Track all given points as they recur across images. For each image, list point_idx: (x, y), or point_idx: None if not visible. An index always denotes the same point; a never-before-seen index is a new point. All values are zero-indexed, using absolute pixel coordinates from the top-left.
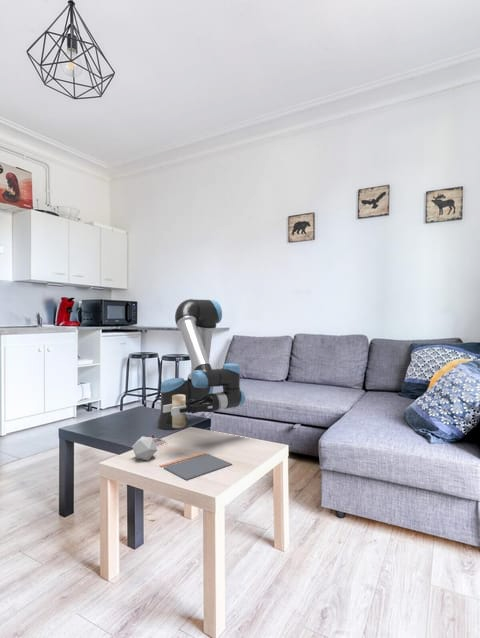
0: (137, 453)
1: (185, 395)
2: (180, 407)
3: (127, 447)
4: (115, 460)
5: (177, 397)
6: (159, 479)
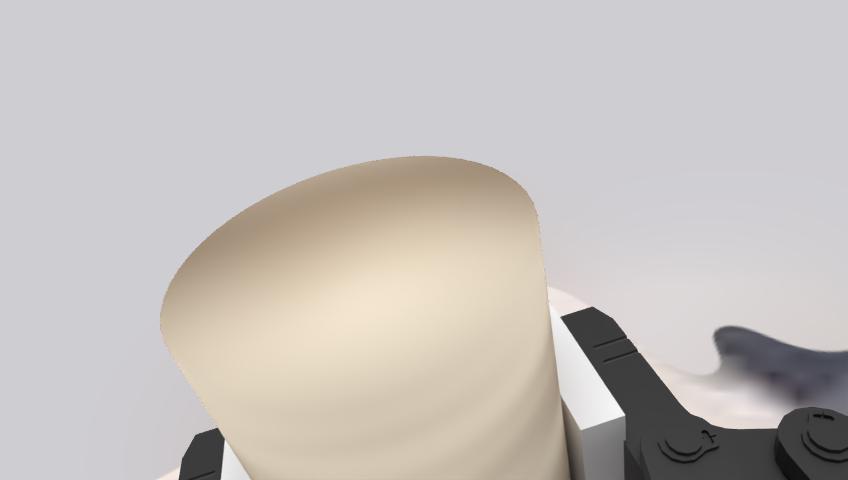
0: None
1: (232, 387)
2: None
3: (822, 369)
4: (560, 314)
5: (231, 228)
6: (175, 475)
